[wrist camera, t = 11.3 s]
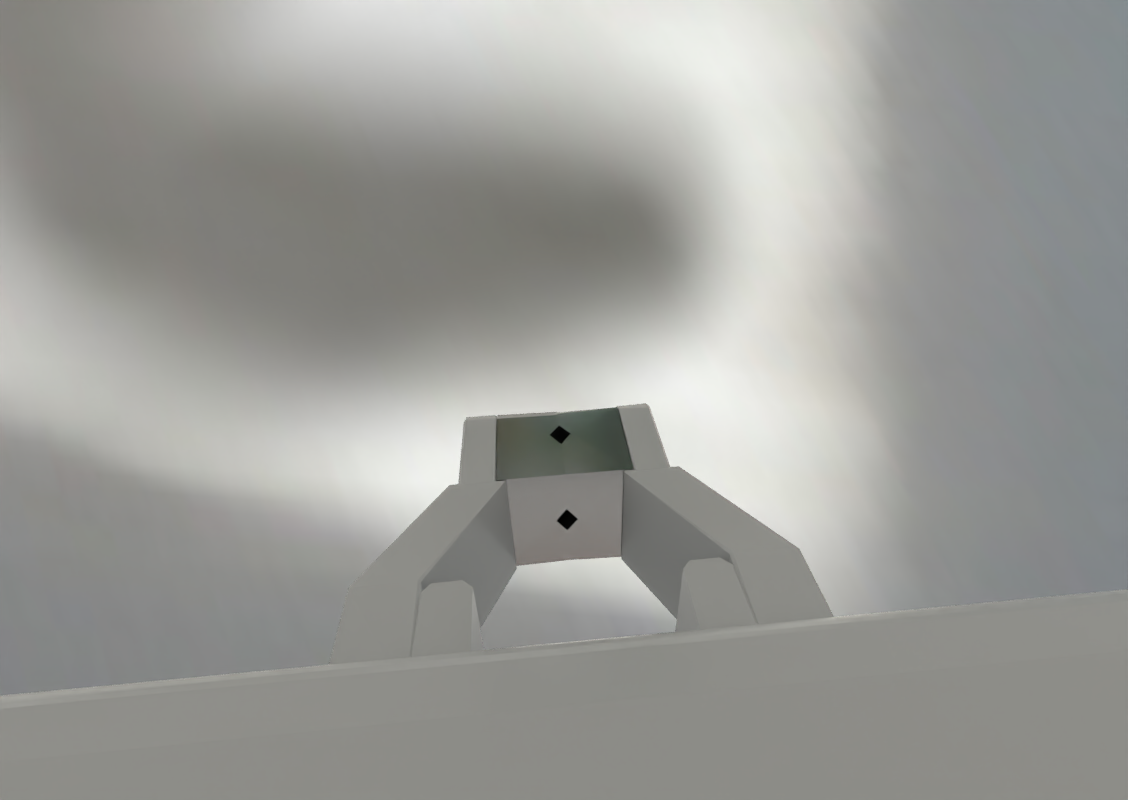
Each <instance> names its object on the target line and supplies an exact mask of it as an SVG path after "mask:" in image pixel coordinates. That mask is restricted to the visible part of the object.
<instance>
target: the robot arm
mask: <svg viewBox="0 0 1128 800" xmlns="http://www.w3.org/2000/svg"><path fill="white" fill-rule="evenodd" d="M607 557H622V560H623V561H624V562H625V563H626V564H627V565H628V567H629V568H630V569H631V570H632V571H633V572H634V573H635V574H636V575H637V576H638V577H639V579H640V580H641V581H642V582H643V583H644V584H645V585H646V586H647V587H648V588H649V589H650V591H651V592H652V593H653V594H654V595H655V596H656V597H657V598H658V599H659V600H660V601H661V603H662V604H663V605H664V606H665V607H666V608H667V609H668V610H669V611H670V612H671V614H672V615H673V616H674V617H675V618H676V619H677V622H676V630H675V632H669V633H658V634H648V635H637V636H626V637H616V638H605V639H595V640H584V641H573V642H563V643H552V644H542V645H531V646H520V647H510V648H499V649H489V650H484V645H483V639H482V634H481V626H482V625H483V623H484V621H485V620H486V618H487V616H488V615H489V613H490V612H491V610H492V608H493V607H494V605H495V603H496V602H497V600H498V598H499V597H500V595H501V593H502V592H503V590H504V589H505V587H506V585H507V584H508V582H509V580H510V579H511V577H512V575H513V574H514V572H515V570H516V566H519V565H528V564H537V563H545V562H554V561H563V560H574V559H591V558H607ZM0 800H1128V589H1125V590H1115V591H1104V592H1093V593H1083V594H1072V595H1061V596H1051V597H1040V598H1030V599H1019V600H1008V601H998V602H987V603H977V604H966V605H955V606H945V607H934V608H924V609H913V610H902V611H892V612H881V613H871V614H860V615H849V616H839V617H834V616H833V614H832V612H831V610H830V608H829V606H828V604H827V602H826V600H825V598H824V596H823V594H822V593H821V591H820V589H819V587H818V585H817V583H816V581H815V579H814V577H813V575H812V573H811V571H810V569H809V567H808V565H807V563H806V561H805V559H804V557H803V555H802V553H801V551H800V549H799V548H797V547H796V546H794V545H793V544H792V543H790V542H789V541H787V540H786V539H784V538H783V537H781V536H780V535H778V534H777V533H775V532H774V531H773V530H771V529H770V528H768V527H767V526H765V525H764V524H762V523H761V522H759V521H758V520H756V519H755V518H754V517H752V516H751V515H749V514H748V513H746V512H745V511H743V510H742V509H740V508H739V507H737V506H736V505H735V504H733V503H732V502H730V501H729V500H727V499H726V498H724V497H723V496H721V495H720V494H718V493H717V492H716V491H714V490H713V489H711V488H710V487H708V486H707V485H705V484H704V483H702V482H701V481H699V480H698V479H697V478H695V477H694V476H692V475H691V474H689V473H688V472H686V471H685V470H683V469H682V468H680V467H670V465H669V462H668V459H667V457H666V454H665V451H664V448H663V445H662V442H661V439H660V436H659V433H658V430H657V427H656V424H655V421H654V418H653V416H652V413H651V410H650V407H649V406H648V405H647V404H646V403H645V404H635V405H626V406H617V407H616V408H604V409H592V410H580V411H568V412H545V413H527V414H509V415H497V416H495V415H493V416H479V417H466V419H465V421H464V426H463V438H462V449H461V461H460V473H459V484H457V485H449V486H448V487H447V488H446V489H445V490H444V491H443V492H442V493H441V494H440V495H439V496H438V497H437V498H436V499H435V500H434V501H433V502H432V503H431V504H430V505H429V506H428V507H427V508H426V509H425V510H424V512H423V513H422V514H421V515H420V516H419V517H418V518H417V519H416V520H415V521H414V522H413V523H412V524H411V525H410V526H409V527H408V528H407V529H406V530H405V531H404V532H403V533H402V534H401V535H400V536H399V537H398V538H397V539H396V540H395V541H394V542H393V543H392V544H391V545H390V546H389V547H388V548H387V549H386V550H385V551H384V552H383V553H382V554H381V555H380V556H379V557H378V558H377V559H376V560H375V561H374V562H373V563H372V564H371V565H370V566H369V567H368V568H367V569H366V570H365V571H364V572H363V573H362V574H361V575H360V576H359V577H358V578H357V580H356V581H355V582H354V583H353V584H352V585H351V586H350V587H349V588H348V592H347V595H346V599H345V603H344V607H343V611H342V615H341V619H340V623H339V627H338V631H337V635H336V639H335V643H334V647H333V651H332V654H331V658H330V662H329V665H320V666H310V667H299V668H288V669H278V670H267V671H256V672H246V673H235V674H224V675H214V676H203V677H193V678H182V679H171V680H161V681H150V682H140V683H129V684H118V685H108V686H97V687H87V688H76V689H65V690H55V691H44V692H34V693H23V694H12V695H2V696H0Z"/></svg>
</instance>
